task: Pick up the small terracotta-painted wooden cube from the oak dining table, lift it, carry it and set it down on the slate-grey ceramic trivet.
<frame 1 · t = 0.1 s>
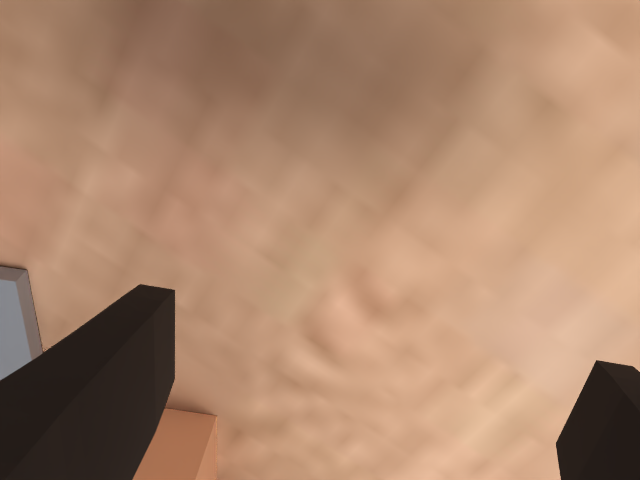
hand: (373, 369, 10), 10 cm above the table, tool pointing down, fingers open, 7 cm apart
terracotta cube: (163, 444, 27), on the table
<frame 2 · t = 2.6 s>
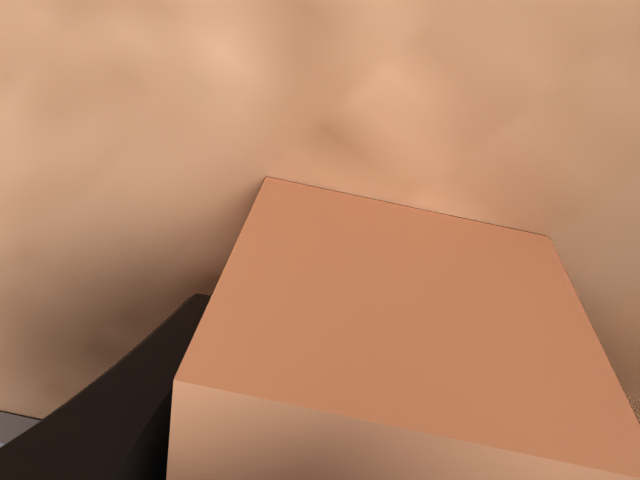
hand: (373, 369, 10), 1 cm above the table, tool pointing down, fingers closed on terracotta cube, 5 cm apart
terracotta cube: (374, 318, 11), on the table, touching gripper
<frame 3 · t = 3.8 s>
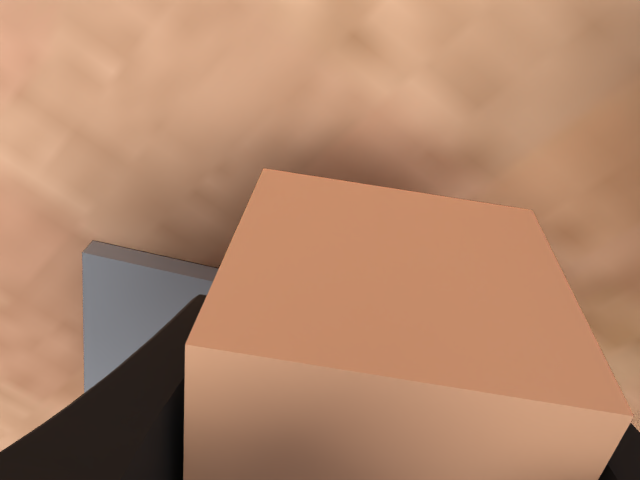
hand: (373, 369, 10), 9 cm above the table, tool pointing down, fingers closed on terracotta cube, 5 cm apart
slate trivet: (218, 376, 23), on the table
terracotta cube: (373, 298, 12), point 7 cm above the table, touching gripper
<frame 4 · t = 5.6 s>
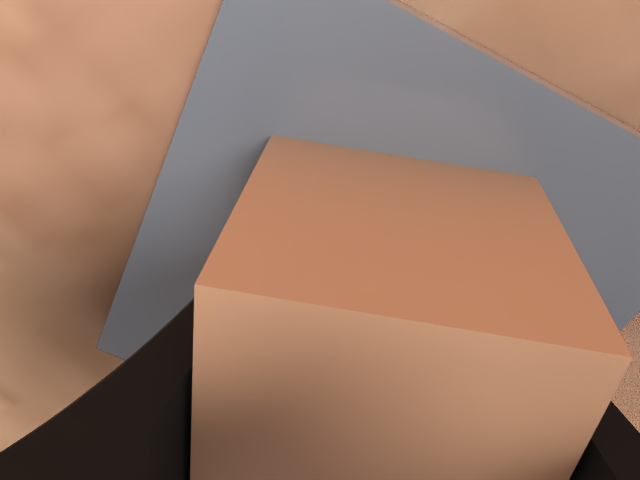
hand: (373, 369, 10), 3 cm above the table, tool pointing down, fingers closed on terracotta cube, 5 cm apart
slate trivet: (378, 264, 13), on the table
terracotta cube: (379, 267, 12), point 1 cm above the table, touching gripper, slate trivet
when the fingers open (3 cm above the table, at t = 6.3 s): terracotta cube stays where it is, resting on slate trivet.
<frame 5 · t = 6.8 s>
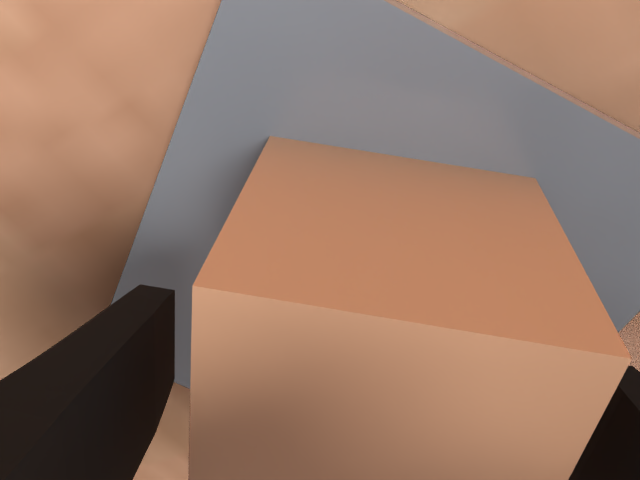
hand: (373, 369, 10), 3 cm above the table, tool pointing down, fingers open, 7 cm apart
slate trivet: (376, 264, 13), on the table
terracotta cube: (378, 268, 12), point 1 cm above the table, touching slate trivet
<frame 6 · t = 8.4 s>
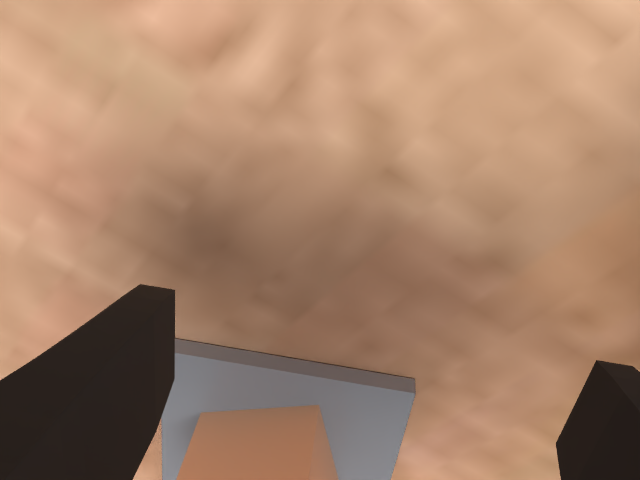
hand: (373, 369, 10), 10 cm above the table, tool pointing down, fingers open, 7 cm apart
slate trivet: (278, 443, 26), on the table
terracotta cube: (272, 451, 25), point 1 cm above the table, touching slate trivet
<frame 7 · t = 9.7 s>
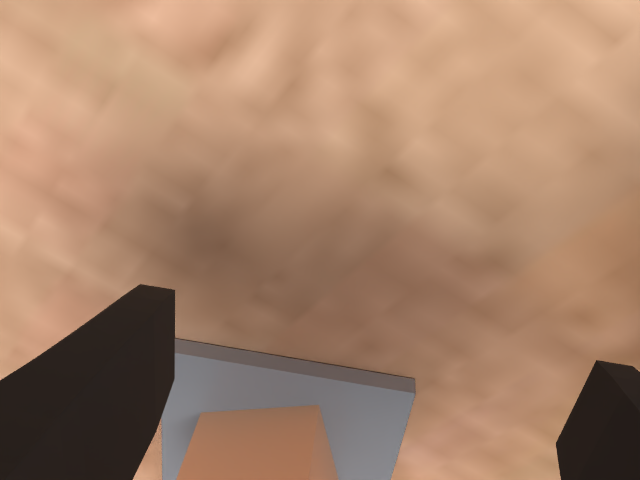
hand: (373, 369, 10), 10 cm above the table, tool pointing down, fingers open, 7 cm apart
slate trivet: (278, 443, 26), on the table
terracotta cube: (272, 451, 25), point 1 cm above the table, touching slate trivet
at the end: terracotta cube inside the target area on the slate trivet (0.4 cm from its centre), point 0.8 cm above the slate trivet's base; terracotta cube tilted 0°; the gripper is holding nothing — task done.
